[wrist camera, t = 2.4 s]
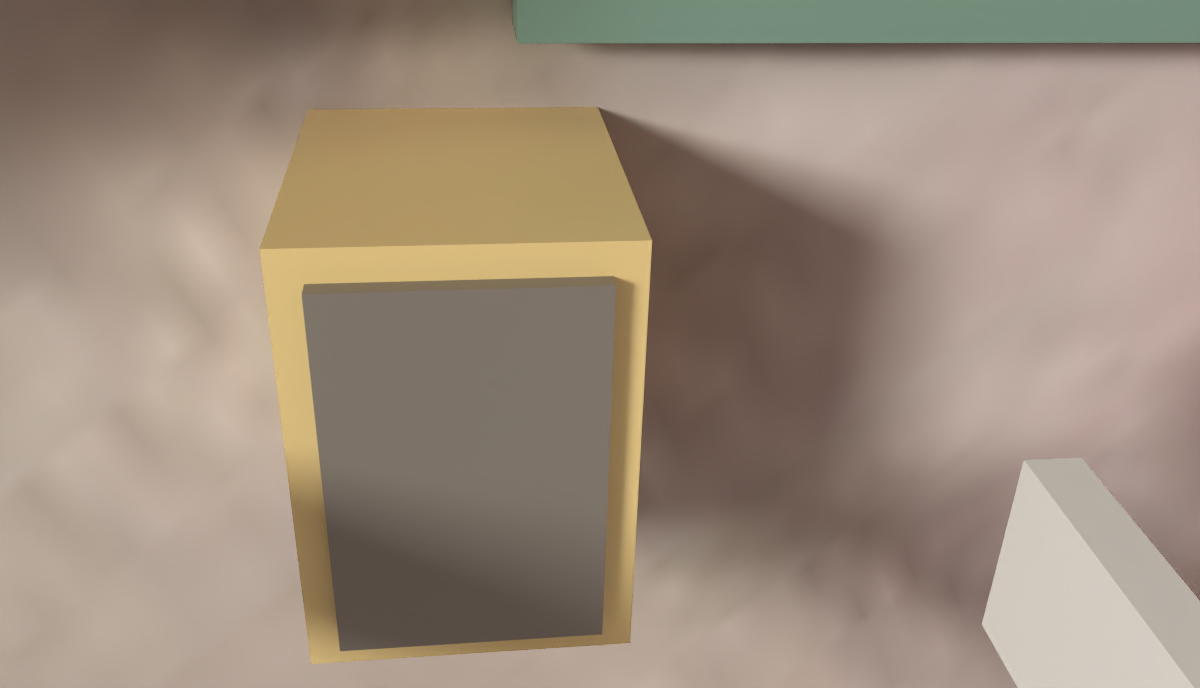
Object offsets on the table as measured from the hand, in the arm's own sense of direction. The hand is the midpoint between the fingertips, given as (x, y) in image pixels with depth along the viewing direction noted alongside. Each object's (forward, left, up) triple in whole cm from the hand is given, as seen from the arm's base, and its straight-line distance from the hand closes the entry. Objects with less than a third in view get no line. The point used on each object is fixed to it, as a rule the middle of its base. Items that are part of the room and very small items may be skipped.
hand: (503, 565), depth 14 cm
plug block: (0, 0, -8) cm, 8 cm away
